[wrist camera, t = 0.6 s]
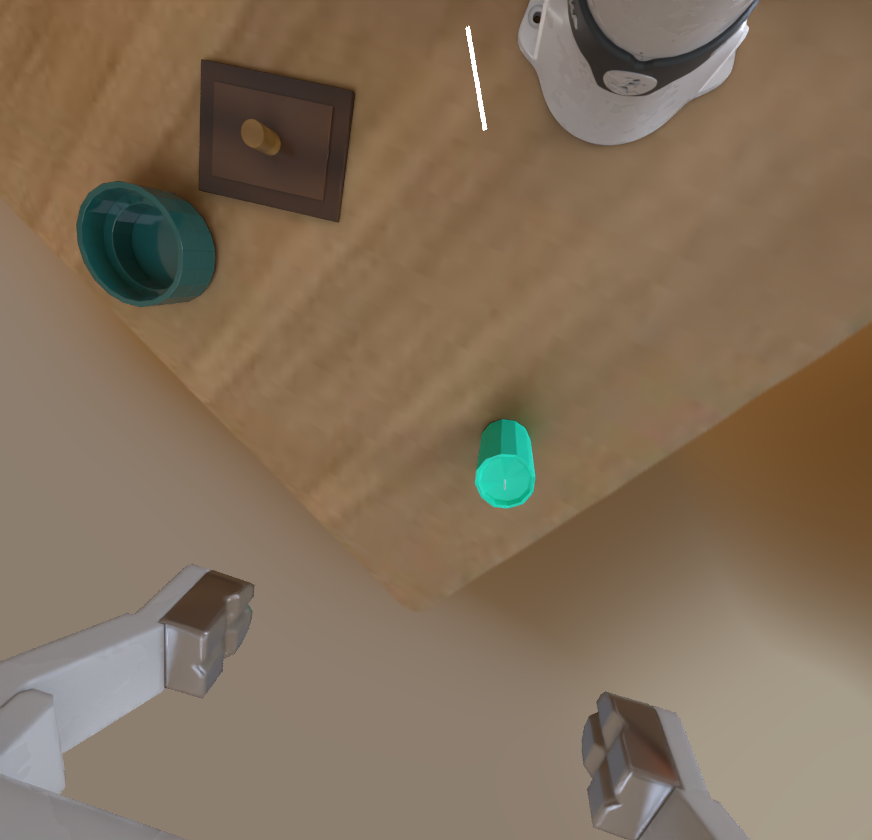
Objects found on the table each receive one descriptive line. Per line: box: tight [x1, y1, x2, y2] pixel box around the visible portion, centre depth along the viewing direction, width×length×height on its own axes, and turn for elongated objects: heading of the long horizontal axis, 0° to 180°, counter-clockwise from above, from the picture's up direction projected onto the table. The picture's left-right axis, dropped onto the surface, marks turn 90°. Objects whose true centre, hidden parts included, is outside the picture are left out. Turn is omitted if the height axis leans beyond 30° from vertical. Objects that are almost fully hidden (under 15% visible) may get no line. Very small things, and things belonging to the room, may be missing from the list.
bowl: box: [76, 181, 215, 307], centre depth 49 cm, size 12×12×6 cm
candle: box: [475, 419, 535, 508], centre depth 47 cm, size 6×6×12 cm
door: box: [199, 60, 355, 222], centre depth 44 cm, size 12×16×4 cm
